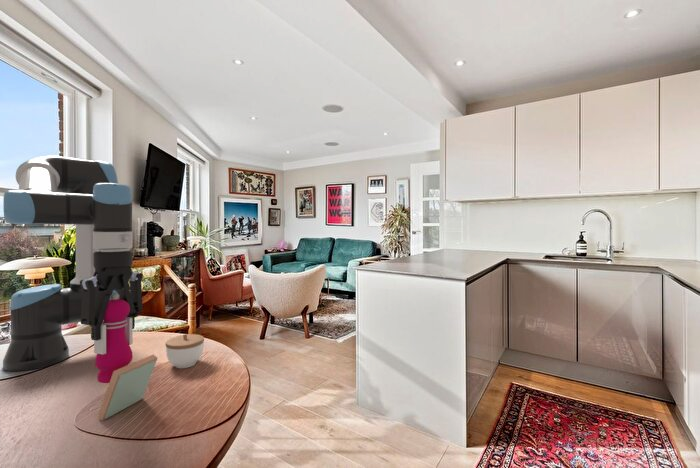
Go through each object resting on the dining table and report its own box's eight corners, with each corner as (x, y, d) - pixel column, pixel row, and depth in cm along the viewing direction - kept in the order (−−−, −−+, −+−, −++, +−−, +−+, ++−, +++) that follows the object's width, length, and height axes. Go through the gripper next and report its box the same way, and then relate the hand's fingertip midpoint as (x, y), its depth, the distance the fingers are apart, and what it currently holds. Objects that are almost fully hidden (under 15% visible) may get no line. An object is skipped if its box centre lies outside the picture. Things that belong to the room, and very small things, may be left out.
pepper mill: (139, 373, 81) (140, 291, 81) (109, 386, 75) (110, 297, 74) (118, 369, 84) (118, 289, 84) (87, 381, 77) (87, 294, 77)
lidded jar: (210, 358, 109) (210, 329, 109) (191, 372, 99) (191, 341, 98) (179, 356, 110) (179, 328, 110) (157, 370, 100) (157, 339, 99)
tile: (97, 417, 74) (113, 371, 73) (138, 395, 84) (153, 354, 82) (102, 421, 74) (119, 375, 72) (143, 399, 84) (158, 358, 82)
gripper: (82, 253, 69) (83, 366, 69) (159, 248, 86) (160, 337, 87) (57, 252, 71) (58, 361, 71) (137, 247, 89) (137, 334, 89)
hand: (114, 348), depth 79 cm, fingers closed on pepper mill, 6 cm apart
